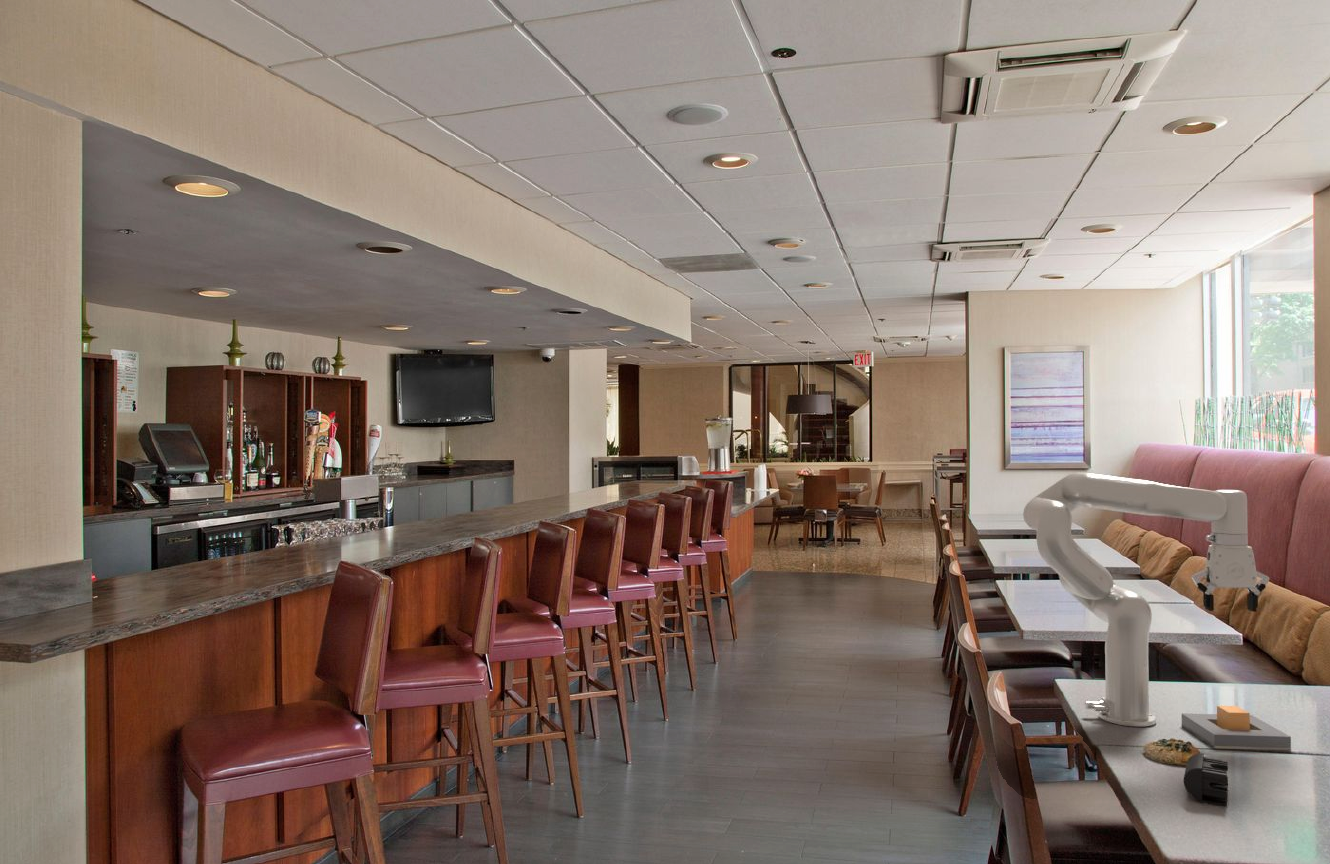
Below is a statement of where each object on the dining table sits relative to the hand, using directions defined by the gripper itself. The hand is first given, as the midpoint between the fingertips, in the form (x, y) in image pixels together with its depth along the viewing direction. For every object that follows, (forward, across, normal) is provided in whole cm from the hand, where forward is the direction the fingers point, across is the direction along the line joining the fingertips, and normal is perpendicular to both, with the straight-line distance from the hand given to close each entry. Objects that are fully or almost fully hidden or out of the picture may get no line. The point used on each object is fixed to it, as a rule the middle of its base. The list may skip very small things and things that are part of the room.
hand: (1230, 610), depth 224 cm
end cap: (+27, -27, -51) cm, 64 cm away
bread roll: (+27, -25, -30) cm, 47 cm away
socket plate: (+27, -6, -14) cm, 31 cm away
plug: (+26, -6, -13) cm, 30 cm away
